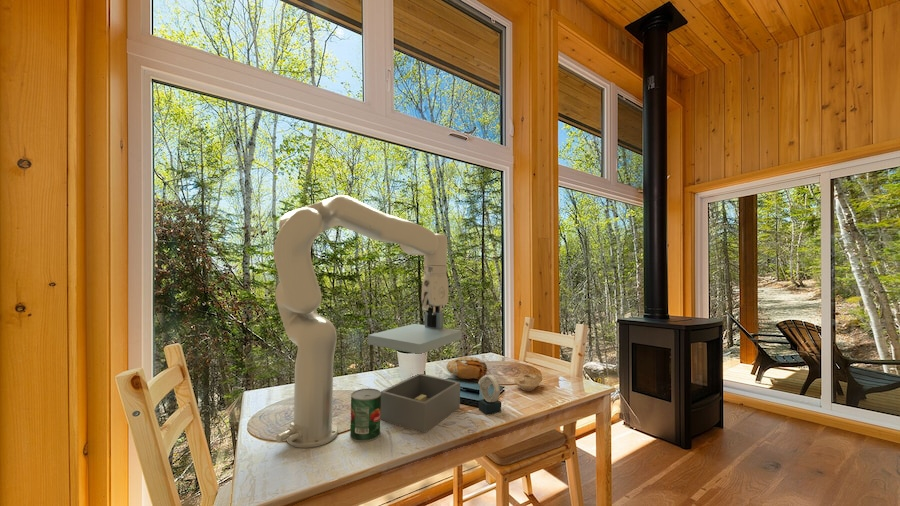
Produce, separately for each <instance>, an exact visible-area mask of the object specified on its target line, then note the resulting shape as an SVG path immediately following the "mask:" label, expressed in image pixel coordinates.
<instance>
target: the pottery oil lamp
mask: <svg viewBox="0 0 900 506" xmlns="http://www.w3.org/2000/svg"><path fill="white" fill-rule="evenodd" d="M542 381H543V376H542V375H541V374H537V373H536V374H535V373H530V374H520V375H518V376H517V377H516V378H515V379H514V381H513V382H514V384H516V386H517V387H519V388H520V389H522V390H523V391H525V392H533V391H534V389H536V388H537V387H538V386H540V383H541V382H542Z"/></svg>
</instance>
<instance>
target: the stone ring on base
mask: <svg viewBox="0 0 900 506" xmlns="http://www.w3.org/2000/svg"><path fill="white" fill-rule="evenodd" d="M477 383H478V385H479V390H480V393H481V396H482V399H478V411H480V412H481V413H483V415H485V416H489V415H494V414H498V413H502V401H501V400H499V398H500V395H501V387H500V383H499V379H498V378H497V377H496V375H493V374H492V375H491V374H488V375H487V374H486V375H485V376H483V377H482V378H481V379H480V380H479V379H478V382H477ZM491 385H493V392H492V395H491V396H490V394H489V389H490V387H491Z"/></svg>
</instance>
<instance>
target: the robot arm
mask: <svg viewBox="0 0 900 506" xmlns="http://www.w3.org/2000/svg"><path fill="white" fill-rule="evenodd" d="M278 223H279V224H278V227H279V231H278V233H277V236H276V238H275V240H274V246H273V259H274V263H275V268H276V272H277V275H278V279H279V282H278V284H277V286H276V287H275V291H274V297H275V302H276V306H277V309H278V312H279V315H280V319H281V321H282V324H283V327H284V331H285V333H286V335H287V337H288V339H289V340H290V341H291V342H292V344H295V346H297V352H296V353H297V354H296V356H295V357H296V358H295V363H294V364H295V365H294V390H293V391H294V393H293V397H294V398H293V400H294V401H293V421H292V422H290V424H289V427H288V428H287V430H286V431H283V432H280V433H278V434H276V435H275V440H276V442H277V443H282V442H283V441H285V440H286V441H287V443H288V444H289V445H290V446H293V447H294V448H295V447H296V448H300V449H302V448H304V449H305V448H308V449H309V448H316V447H320V446H323V445H325V444H328V443H330V442H331V441H333V440H334V439H335V438H336V437H337V435H338V433H339V429H338V428H339V427H338V425H336V424H335V423H334V422H333V396H334V395H333V394H334V391H333V389H334V388H333V387H334V359H335V358H334V357H335V351H336V348H337V347H336V346H337V340H338V339H337V335H338V334H337V333H338V332H337V330H336V327H335V325H334V324H333V323H332V322H331V321H330V320H329V319H328V318H326V317H324V316H321V315H320V314H319V313H318V311H317V309H318V308H319V307H320V305H321V303H322V297H323V296H322V290H321V287H320V284H319V281H318V279H317V278H318V277H317V275H316V272H315V268H314V264H313V260H312V255H311V251H312V246H313V244H314V241H315V240H316V239H317V237H319V236H320V234H321V233H323V232H325V231H328V230H331V229H333V228H335V227H342V228H344V229H345V228H346V229H348V230H350V231H352V232H355V233H357V234H360V235H362V236H364V237H367V238H368V239H372V240H374V241H379V242H384V243H392V244H397V245H399V247H400V249H401V250H402V252H403V253H405V254H407V255H409V256H423V258H424V259H423V278H422V284H421V285H422V286H421V304H422V307H421V308H422V310H424V311H425V312H426V314H427V326H428V327H434V328H435V327H436V315H435V312H436V313H443V308H444V307H445V306H446V305H447V304H448V303H449V280H448V276H447V271H448V270H447V267H448V266H447V264H448V261H447V259H448V258H447V257H448V237H447V235H446V234H444V233H435V232H433V231H432V230H430V229H428V228H426V227H424V226H422V225H420V224H418V223H416V222H412V221H410V220H408V219H403V218H402V217H401V218H400V217H398V216H396V215H393V214H392V215H391V214H388V213H386V212H384V211H381V210H379V209H377V208H374V207H372V206H370V205H369V204H366V203H364V202H362V201H360V200H358V199H356V198H354V197H351V196H350V195H345V194H339V195H338V194H337V195H335V196H332V197H328V198H326V199H323V200H320V201H317V202H315V203H312V204H309V205H306V206H303V207H299V208H297V209H293V210H290V211H288V212H286V213H284V215H282V216H281V217H280V220H279V222H278Z"/></svg>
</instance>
